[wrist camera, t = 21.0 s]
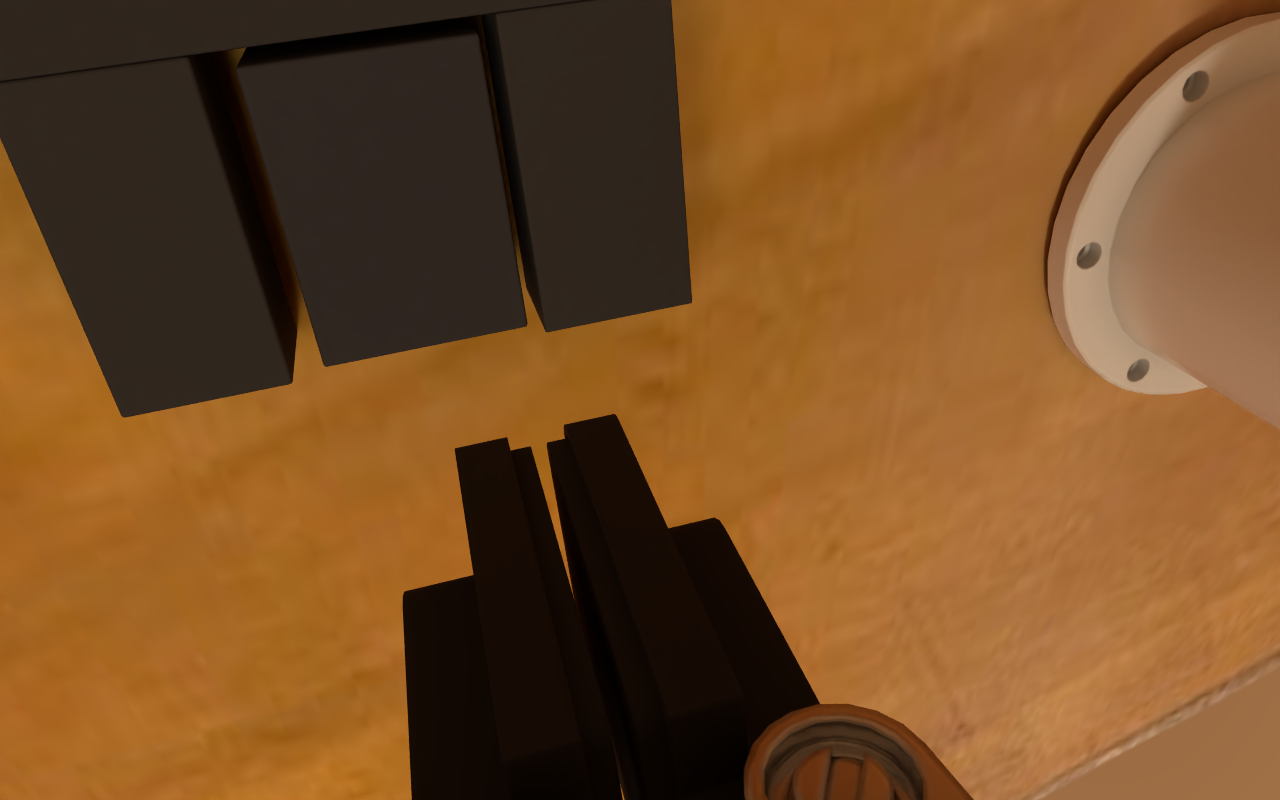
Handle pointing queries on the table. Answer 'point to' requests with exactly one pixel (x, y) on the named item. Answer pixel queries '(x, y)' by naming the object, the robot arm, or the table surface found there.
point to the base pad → (226, 203)
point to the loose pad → (387, 185)
